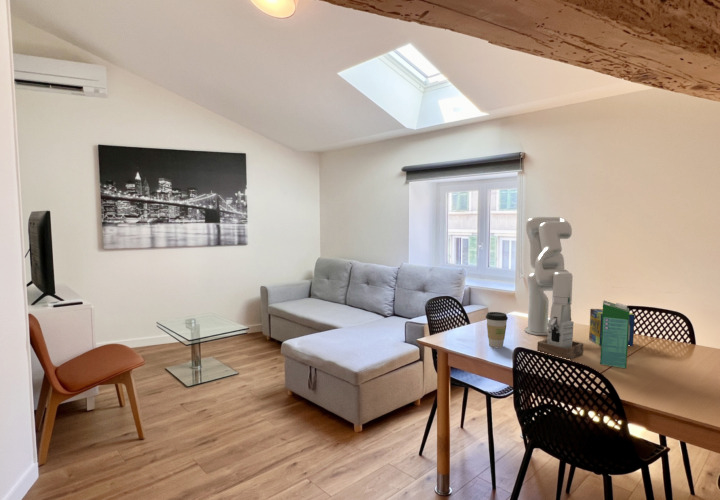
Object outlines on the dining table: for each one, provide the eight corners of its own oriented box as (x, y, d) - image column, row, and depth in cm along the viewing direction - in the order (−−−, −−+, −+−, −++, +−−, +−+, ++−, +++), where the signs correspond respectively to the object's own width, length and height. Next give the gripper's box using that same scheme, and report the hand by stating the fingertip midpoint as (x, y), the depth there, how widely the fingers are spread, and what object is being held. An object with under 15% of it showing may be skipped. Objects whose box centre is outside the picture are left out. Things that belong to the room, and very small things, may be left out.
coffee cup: (508, 349, 184) (509, 317, 183) (486, 348, 186) (486, 315, 185) (505, 343, 194) (506, 312, 193) (483, 341, 196) (484, 311, 195)
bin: (552, 347, 188) (552, 336, 188) (582, 354, 177) (583, 343, 177) (537, 352, 180) (537, 341, 179) (568, 361, 169) (568, 349, 169)
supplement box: (546, 347, 180) (547, 319, 179) (557, 344, 184) (559, 317, 183) (561, 352, 174) (562, 323, 173) (572, 349, 177) (574, 321, 176)
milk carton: (626, 368, 161) (629, 306, 159) (600, 364, 166) (602, 303, 164) (626, 361, 169) (629, 302, 167) (600, 357, 173) (603, 300, 172)
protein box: (588, 339, 200) (589, 308, 199) (621, 340, 199) (622, 309, 198) (599, 346, 190) (600, 313, 189) (633, 347, 188) (635, 314, 187)
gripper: (562, 296, 185) (561, 334, 187) (543, 301, 174) (541, 341, 176) (580, 299, 179) (578, 337, 181) (560, 304, 169) (559, 345, 170)
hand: (560, 339), depth 178 cm, fingers closed on supplement box, 8 cm apart
